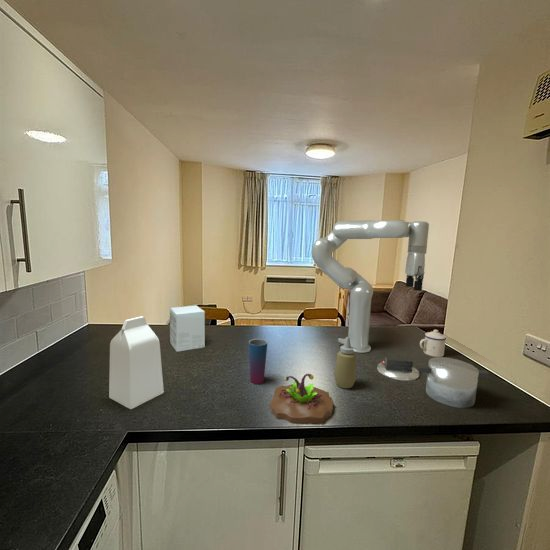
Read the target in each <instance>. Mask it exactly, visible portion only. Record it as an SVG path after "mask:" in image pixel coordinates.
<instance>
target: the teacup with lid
mask: <svg viewBox="0 0 550 550" xmlns="http://www.w3.org/2000/svg"><path fill="white" fill-rule="evenodd" d="M446 340H447V336H446V335H445V334H442V333H441V332H439V329H433V331H432V330H431V331H430V332H429V331H427V332H425V333H424V338H422V339H421V340H420V341H419V347H420V348H421V349H422V350H423V353H424V354H425V355H426V356H430V357H432V358H435V357H444V355H445V346H446ZM423 343H424V344H423Z"/></svg>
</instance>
